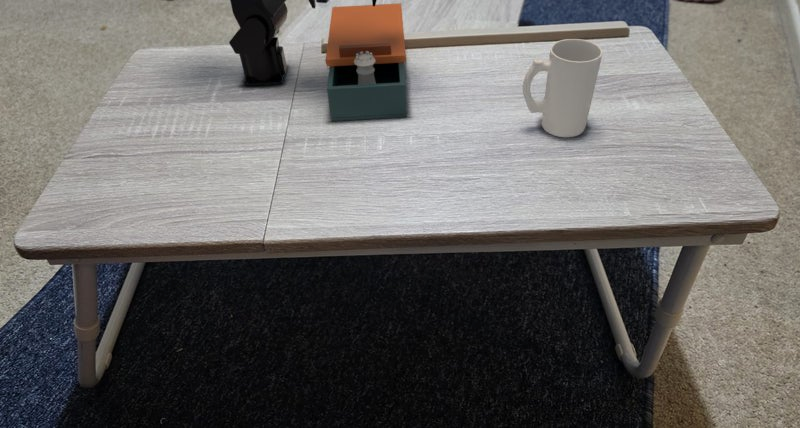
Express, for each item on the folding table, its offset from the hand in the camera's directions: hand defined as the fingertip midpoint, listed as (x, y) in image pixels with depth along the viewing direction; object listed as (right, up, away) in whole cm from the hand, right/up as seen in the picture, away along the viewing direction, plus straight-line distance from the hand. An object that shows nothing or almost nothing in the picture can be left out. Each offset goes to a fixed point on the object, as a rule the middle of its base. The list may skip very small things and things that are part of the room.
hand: (344, 6), depth 89 cm
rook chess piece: (+4, -14, +3) cm, 15 cm away
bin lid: (+3, -2, +8) cm, 9 cm away
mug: (+31, -19, -4) cm, 37 cm away
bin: (+4, -11, +7) cm, 13 cm away
